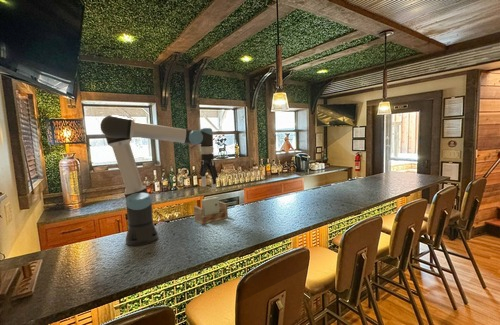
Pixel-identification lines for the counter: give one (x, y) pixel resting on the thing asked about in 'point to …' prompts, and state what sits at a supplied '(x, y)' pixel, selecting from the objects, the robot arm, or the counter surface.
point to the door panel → (210, 206)
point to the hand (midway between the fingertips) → (208, 187)
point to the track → (210, 218)
